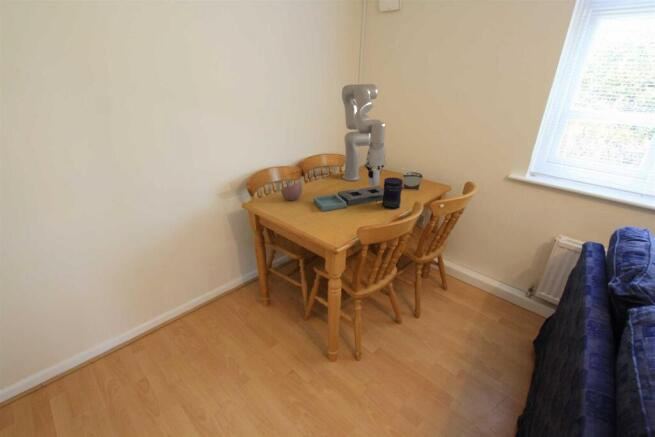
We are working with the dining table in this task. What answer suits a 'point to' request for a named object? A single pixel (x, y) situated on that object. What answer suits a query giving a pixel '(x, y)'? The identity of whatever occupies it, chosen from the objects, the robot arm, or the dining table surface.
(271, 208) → the dining table surface
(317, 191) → the dining table surface
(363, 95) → the robot arm
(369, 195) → the grey block with hole
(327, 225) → the dining table surface
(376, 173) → the steel block
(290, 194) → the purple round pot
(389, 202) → the storage jar
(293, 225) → the dining table surface
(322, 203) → the parts tray
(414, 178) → the food container
